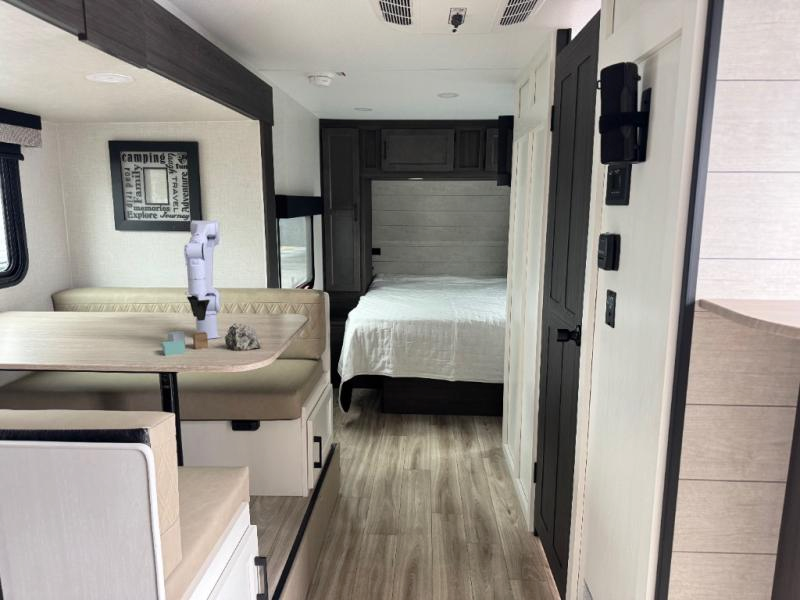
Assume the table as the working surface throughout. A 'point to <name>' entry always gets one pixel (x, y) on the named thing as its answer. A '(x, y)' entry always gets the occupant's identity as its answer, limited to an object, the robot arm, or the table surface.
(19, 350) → the table surface
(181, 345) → the teal slab
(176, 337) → the bluegrey block
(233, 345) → the rock
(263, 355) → the table surface
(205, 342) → the walnut block
